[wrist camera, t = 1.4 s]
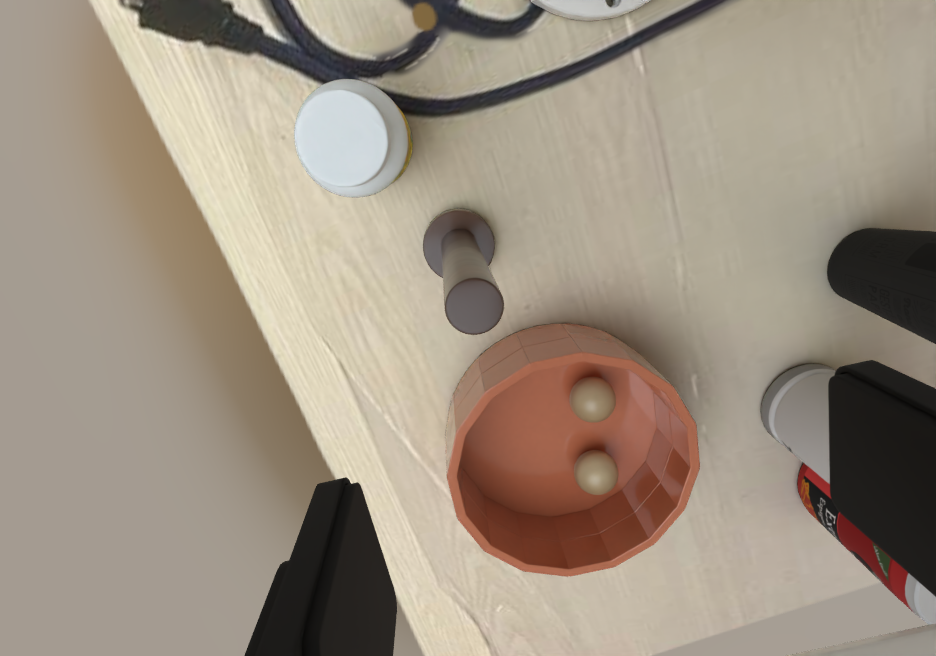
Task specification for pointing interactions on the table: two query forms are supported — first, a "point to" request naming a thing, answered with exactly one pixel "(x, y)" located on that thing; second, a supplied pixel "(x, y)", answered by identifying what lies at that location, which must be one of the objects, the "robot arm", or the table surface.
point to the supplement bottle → (352, 138)
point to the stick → (465, 269)
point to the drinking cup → (889, 276)
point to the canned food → (864, 546)
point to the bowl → (566, 452)
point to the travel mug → (801, 414)
